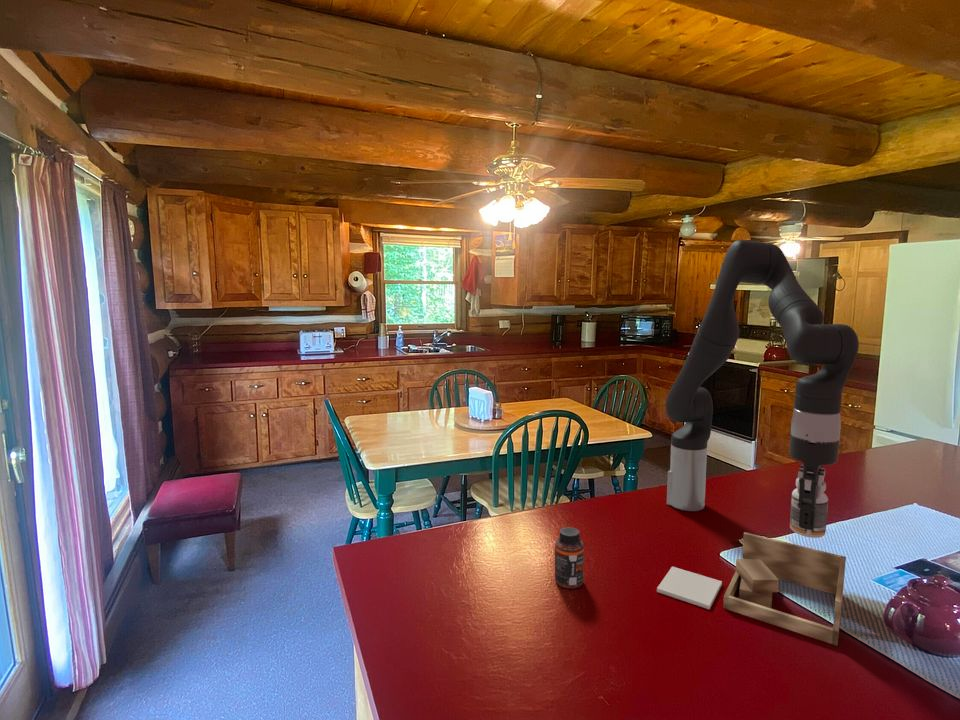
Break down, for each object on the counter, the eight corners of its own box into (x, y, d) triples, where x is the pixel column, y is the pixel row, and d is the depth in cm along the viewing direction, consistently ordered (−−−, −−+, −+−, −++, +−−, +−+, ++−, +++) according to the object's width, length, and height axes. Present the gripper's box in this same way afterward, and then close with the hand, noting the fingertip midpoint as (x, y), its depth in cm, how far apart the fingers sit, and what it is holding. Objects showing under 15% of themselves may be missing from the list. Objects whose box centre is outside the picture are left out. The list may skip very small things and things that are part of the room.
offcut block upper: (752, 591, 100) (752, 579, 100) (735, 570, 107) (736, 558, 107) (778, 592, 100) (778, 580, 99) (759, 570, 107) (760, 559, 107)
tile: (656, 591, 105) (656, 588, 105) (672, 569, 113) (672, 566, 112) (709, 609, 99) (709, 605, 99) (721, 585, 107) (722, 581, 106)
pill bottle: (820, 527, 99) (824, 477, 97) (829, 541, 93) (834, 488, 92) (786, 522, 101) (789, 474, 99) (793, 536, 95) (797, 485, 94)
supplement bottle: (581, 592, 105) (581, 540, 103) (552, 587, 107) (552, 535, 105) (585, 577, 110) (586, 527, 109) (558, 572, 113) (558, 523, 111)
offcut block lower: (738, 603, 101) (739, 588, 101) (742, 580, 109) (743, 567, 108) (771, 611, 98) (772, 597, 98) (772, 587, 106) (773, 574, 106)
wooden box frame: (723, 608, 99) (725, 569, 98) (742, 566, 113) (744, 532, 112) (837, 645, 88) (841, 602, 87) (842, 594, 103) (846, 556, 101)
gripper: (795, 422, 102) (789, 503, 105) (785, 440, 91) (779, 531, 93) (842, 428, 98) (834, 512, 100) (837, 448, 86) (829, 543, 89)
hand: (807, 521), depth 97 cm, fingers closed on pill bottle, 5 cm apart
